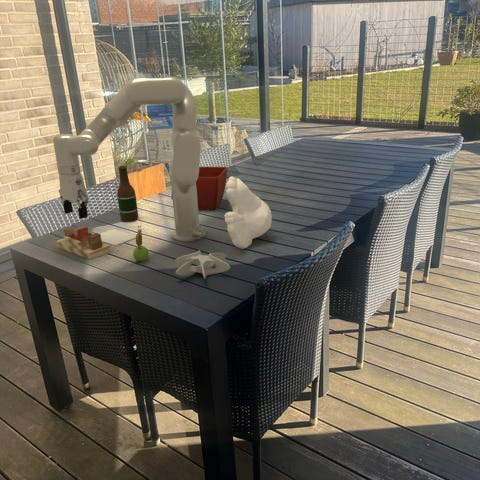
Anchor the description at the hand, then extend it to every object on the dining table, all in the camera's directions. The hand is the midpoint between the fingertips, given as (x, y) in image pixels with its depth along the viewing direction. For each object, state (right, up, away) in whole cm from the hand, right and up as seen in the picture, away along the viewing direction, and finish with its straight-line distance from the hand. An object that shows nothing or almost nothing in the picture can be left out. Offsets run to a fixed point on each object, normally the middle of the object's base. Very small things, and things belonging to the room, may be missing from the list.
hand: (76, 215), depth 176 cm
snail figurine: (+26, -17, -7) cm, 31 cm away
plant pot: (+44, +6, +49) cm, 66 cm away
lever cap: (+1, -10, +4) cm, 11 cm away
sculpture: (+48, -20, -19) cm, 55 cm away
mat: (+10, -8, +15) cm, 20 cm away
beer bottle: (+12, 0, +36) cm, 37 cm away
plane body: (+1, -13, +5) cm, 14 cm away
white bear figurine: (+62, -10, +6) cm, 63 cm away
